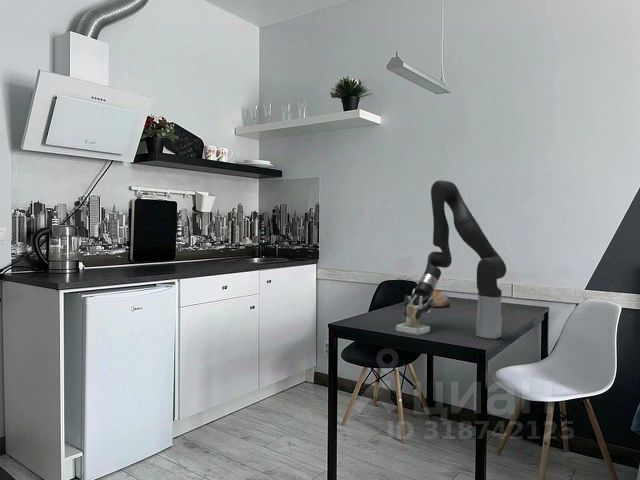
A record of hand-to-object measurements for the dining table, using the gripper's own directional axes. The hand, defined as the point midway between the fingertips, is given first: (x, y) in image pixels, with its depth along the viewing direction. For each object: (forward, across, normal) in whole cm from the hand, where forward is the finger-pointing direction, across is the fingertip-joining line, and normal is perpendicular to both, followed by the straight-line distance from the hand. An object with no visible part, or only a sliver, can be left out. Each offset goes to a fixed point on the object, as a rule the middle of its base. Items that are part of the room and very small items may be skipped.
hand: (410, 316), depth 213 cm
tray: (+3, 0, +6) cm, 7 cm away
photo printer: (-29, -22, +40) cm, 54 cm away
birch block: (+2, 0, +5) cm, 5 cm away
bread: (-47, -27, +58) cm, 79 cm away
